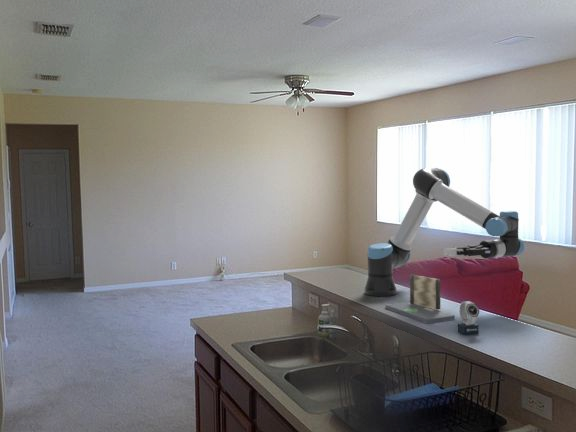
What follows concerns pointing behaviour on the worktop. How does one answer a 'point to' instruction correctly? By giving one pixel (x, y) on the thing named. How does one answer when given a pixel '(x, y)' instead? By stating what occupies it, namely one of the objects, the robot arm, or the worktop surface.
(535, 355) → the worktop surface
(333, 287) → the worktop surface
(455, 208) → the robot arm
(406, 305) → the grey rectangular base plate
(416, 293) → the beige upright panel
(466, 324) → the watch
